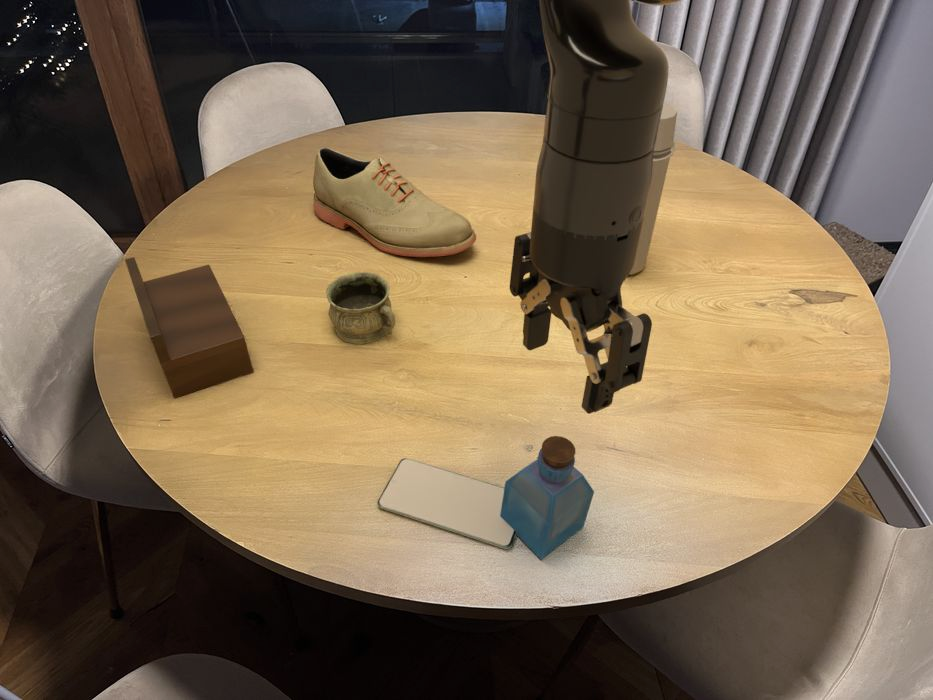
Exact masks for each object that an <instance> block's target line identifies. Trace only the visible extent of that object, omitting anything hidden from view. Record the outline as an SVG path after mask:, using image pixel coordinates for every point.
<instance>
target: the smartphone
mask: <svg viewBox="0 0 933 700" xmlns="http://www.w3.org/2000/svg"><path fill="white" fill-rule="evenodd" d="M504 488H505V487H503V486H500V485H497V484H493V483H490V482H487V481H483V480H480V479H477V478H474V477H470V476H466V475H463V474H460V473H457V472H453V471H450V470H447V469H444V468H441V467H437V466H434V465H431V464H428V463H424V462H421V461H417V460H414V459H410V458H407V457H404V458H402V459H400V460H399V462H398V464H397V466H396V468H395V469H394V471H393V473H392V474H391V477H390V478H389V480H388V481H387V484H386V485H385V486H384V489H383V491H382V492H381V494H380V496H379V498H378V499H377V506H378V508H380V509H382V510H385V511H388V512H391V513H394V514H397V515H400V516H403V517H406V518H409V519H412V520H416V521H418V522H422V523H424V524H428V525H431V526H434V527H437V528H439V529H443V530H446V531H449V532H452V533H455V534H459V535H461V536H465V537H468V538H470V539H473V540H477V541H480V542H483V543H485V544H486V543H487V544H489V545H492V546H496V547H498V548H501V549H505V550H506V549H507V550H508V549H511V548H512V546H513V545H514V543H515V539H516V536H517V535H516V534H517V532H516V531H515V530H514V529H513V528H512V527H511V526H510V525H509V524H508V523H507V522H506V521H505V520H504V519H502V518H501V517H500V513H501V507H502V501H503V494H504Z"/></svg>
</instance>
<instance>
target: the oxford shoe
mask: <svg viewBox="0 0 933 700" xmlns="http://www.w3.org/2000/svg"><path fill="white" fill-rule="evenodd" d="M315 155H316V156H315V159H314V160H315V161H314V171H313V177H312V178H313V180H312V187H313V191H314V193H313V200H312V201H313V202H312V203H313V205H312V206H313V211H314V214H316V216H317V217H318V218H320V219H321V220H322V221H324V222H326V223H328V224H329V225H331V226H333V227H336V228H338V229H341V230H345V229H349V227H352V228H353V229H354V230H356V231H357V232H358V233H359V234H360V235H362V236H363V237H364V238H365V239H366V240H367V241H368V242H369V243H370V244H372V245H373V246H374V247H376V248H377V249H379V250H381V251H382V252H385V253H389V254H391V255H396V256H403V257H410V258H411V257H412V258H413V257H414V258H431V257H432V258H434V257H443V256H444V257H445V256H452V255H456V254H459V253H461V252H464V251H467V250H468V249H469V248H470V247H472V246H473V245H474V244H475V243H476V241H477V235H476V232H475V230H474V229H473V228H472V225H471V222H470V221H469V220H468V218H466V217H465V216H464V215H462V214H460V213H458V212H457V211H454V210H452V209H450V208H448V207H446V206H444V205H441V204H439V203H438V202H437V201H434V200H433V199H431V198H430V197H428V196H427V195H426V194H425V193H424V192H423V191H421V189H418V187H416V186H415V185H414V184H413V183H412V182H410V181H409V180H408V179H407V178H406V177H405V176H404V175H403V174H402V173H400V172H399V171H398V170H397V169H396V168H394V167H393V165H392V164H391V163H390V162H388V161H387V160H386V159H385V158H383V157H379V158H374V159H373V160H361V159H357V158H355V157H352V156H349V155H347V154H344V153H342V152H340V151H337V150H334V149H332V148H329V147H321V148H319V149H318V150H317V152H316V154H315Z"/></svg>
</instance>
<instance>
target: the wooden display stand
mask: <svg viewBox="0 0 933 700" xmlns="http://www.w3.org/2000/svg"><path fill="white" fill-rule="evenodd" d="M124 262H125V265H126V268H127V271H128V274H129V277H130V280H131V283H132V286H133V289H134V293H135V295H136V299H137V301H138V305H139V307H140V311H141V314H142V317H143V320H144V323H145V327H146V329H147V333H148V336H149V338H150V341H151V343H152V346H153V348H154V351H155V354H156V357H157V359H158V361H159V364H160V367H161V369H162V371H163V375H164V377H165V379H166V382H167V385H168V387H169V389H170V393H171V394H172V398H173V399H177V398H180V397H183V396H185V395H190V394H192V393H195V392H198V391H200V390H203V389H207V388H209V387H213V386H217V385H219V384H223V383H225V382H228V381H232V380H234V379H237V378H240V377H243V376H246V375H249V374H252V373H254V367H253V364H252V360H251V356H250V354H249V349H248V346H247V342H246V338H245V335H244V333H243V331H242V329H241V326H240V325H239V322H238V321H237V319H236V317H235V314H234V312H233V311H232V309H231V306H230V305H229V302H228V300H227V298H226V296H225V294H224V292H223V290H222V288H221V286H220V284H219V282H218V280H217V277H216V276H215V275H216V274H215V273H214V271H213V270H212V266H211V265H210V264H205V265H202V266H198V267H195V268H191V269H190V268H189V269H186V270H183V271H179V272H175V273H171V274H168V275H164V276H160V277H156V278H153V279H149V280H144V279H143V276H142V273H141V271H140V268H139V266H138V263H137V260H136V258H135V257H134V256H132V257H129V258H125V259H124Z"/></svg>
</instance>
